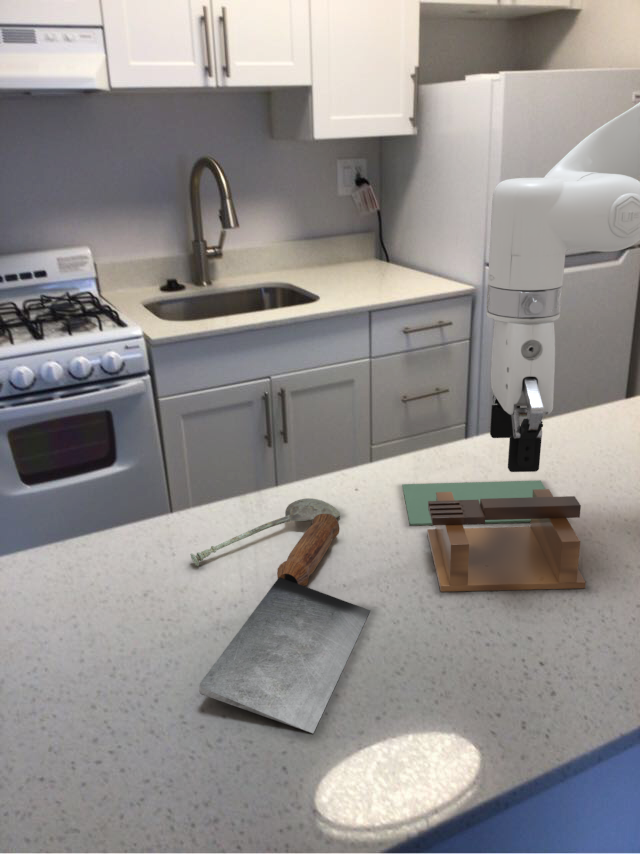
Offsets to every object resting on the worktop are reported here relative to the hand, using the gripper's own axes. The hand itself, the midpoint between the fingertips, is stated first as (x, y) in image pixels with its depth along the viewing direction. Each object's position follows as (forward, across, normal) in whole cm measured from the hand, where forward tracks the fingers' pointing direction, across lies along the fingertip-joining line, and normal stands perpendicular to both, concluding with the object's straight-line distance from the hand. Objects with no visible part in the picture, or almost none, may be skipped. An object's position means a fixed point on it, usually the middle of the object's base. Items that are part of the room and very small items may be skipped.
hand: (512, 453), depth 85 cm
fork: (+8, 0, +1) cm, 8 cm away
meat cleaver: (+14, -10, +22) cm, 28 cm away
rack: (+14, 0, 0) cm, 14 cm away
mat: (+14, +15, 0) cm, 21 cm away
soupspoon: (+14, +7, +29) cm, 33 cm away
